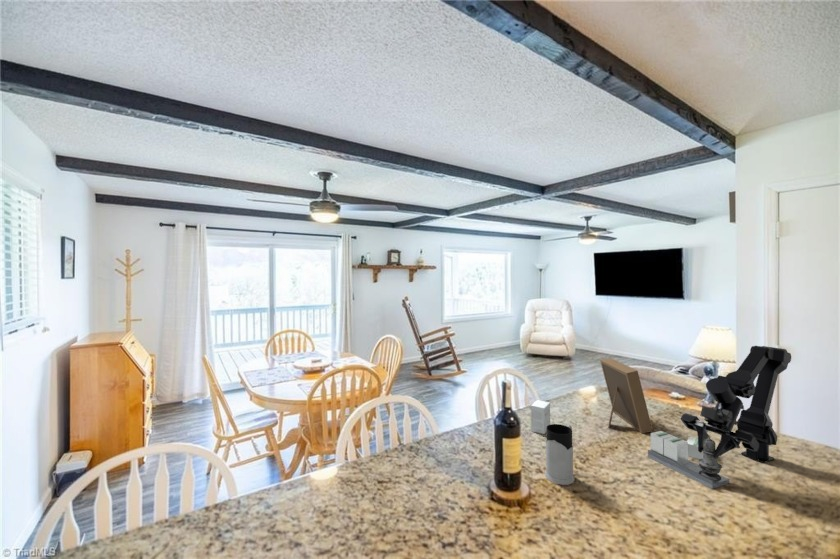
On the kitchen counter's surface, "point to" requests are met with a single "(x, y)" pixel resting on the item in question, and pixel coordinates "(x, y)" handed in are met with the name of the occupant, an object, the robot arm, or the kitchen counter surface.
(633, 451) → the kitchen counter surface
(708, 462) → the dark grey tall piece
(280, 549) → the kitchen counter surface
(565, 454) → the glass holder
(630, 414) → the photo frame
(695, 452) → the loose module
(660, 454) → the rail
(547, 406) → the small box
